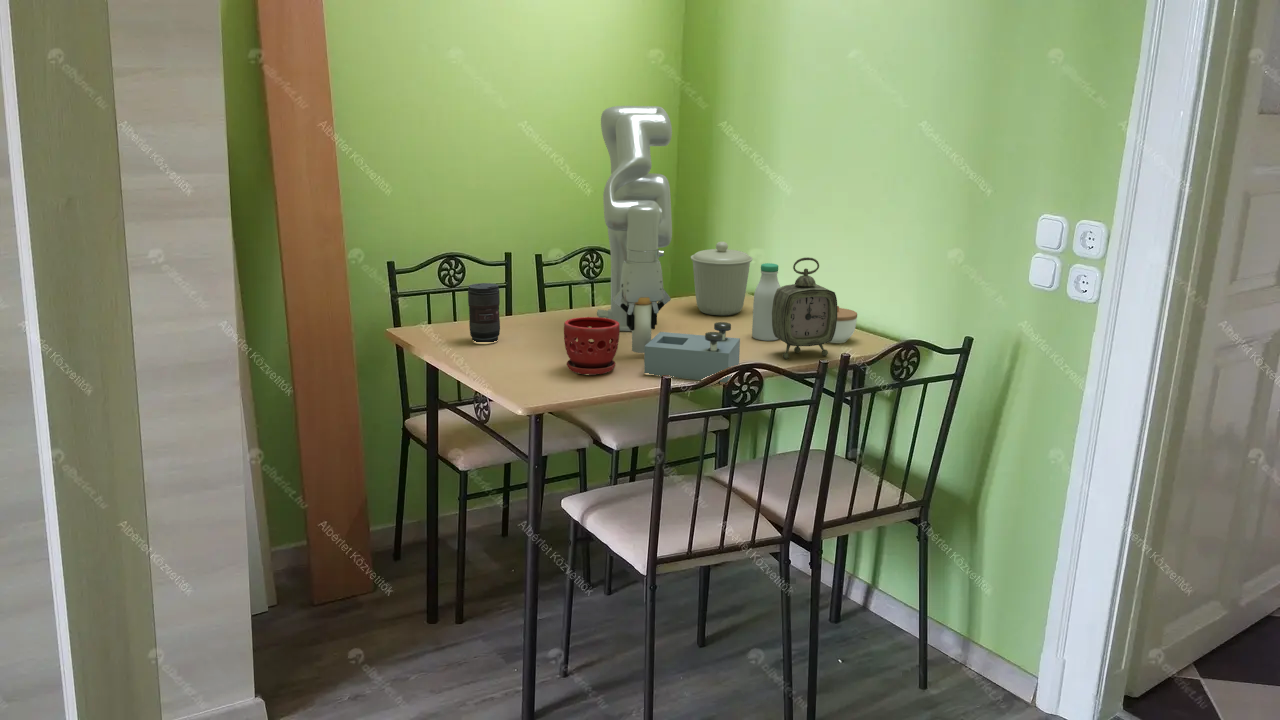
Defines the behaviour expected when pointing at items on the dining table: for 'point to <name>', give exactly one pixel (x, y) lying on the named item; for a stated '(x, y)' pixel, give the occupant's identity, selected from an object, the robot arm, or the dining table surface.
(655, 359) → the housing
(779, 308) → the tabletop clock
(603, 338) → the plant pot
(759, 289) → the milk bottle
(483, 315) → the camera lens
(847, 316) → the lidded jar
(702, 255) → the canister
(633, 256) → the robot arm
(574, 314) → the dining table surface
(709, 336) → the plunger
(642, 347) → the cylinder
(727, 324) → the plunger
